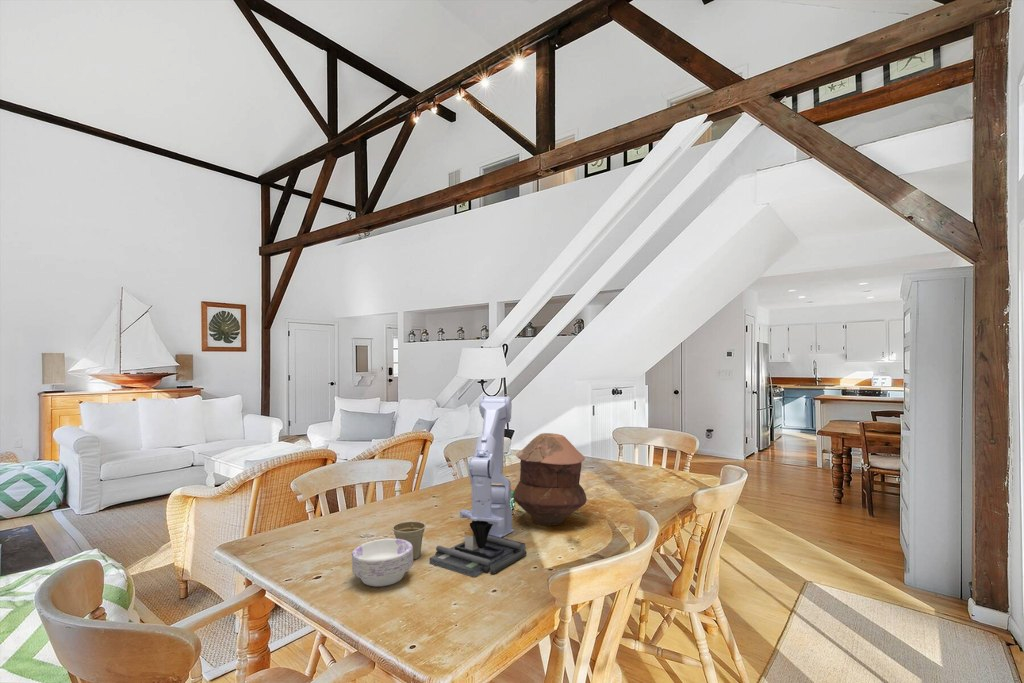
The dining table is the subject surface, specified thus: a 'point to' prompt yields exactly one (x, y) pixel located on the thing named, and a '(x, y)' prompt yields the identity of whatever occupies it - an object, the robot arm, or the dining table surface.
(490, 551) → the breaker panel
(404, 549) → the paper bowls
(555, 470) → the pottery vessel
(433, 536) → the dining table surface
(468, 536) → the breaker lever
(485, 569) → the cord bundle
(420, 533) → the flower pot
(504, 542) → the dark grey bar
